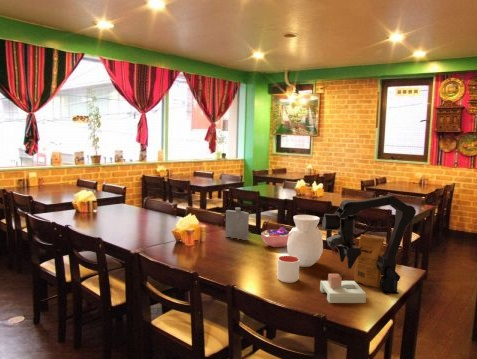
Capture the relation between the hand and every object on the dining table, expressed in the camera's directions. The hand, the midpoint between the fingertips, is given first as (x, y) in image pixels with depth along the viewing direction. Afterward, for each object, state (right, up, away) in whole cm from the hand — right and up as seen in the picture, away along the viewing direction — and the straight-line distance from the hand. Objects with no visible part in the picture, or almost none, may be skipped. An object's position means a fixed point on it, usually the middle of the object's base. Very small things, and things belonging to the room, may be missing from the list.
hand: (345, 265), depth 175 cm
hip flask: (-47, -1, +84) cm, 97 cm away
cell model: (-23, -3, +69) cm, 73 cm away
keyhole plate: (-3, -12, -4) cm, 13 cm away
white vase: (-12, -7, +37) cm, 40 cm away
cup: (-23, -10, +13) cm, 29 cm away
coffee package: (+14, -11, +13) cm, 21 cm away
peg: (-6, -12, -5) cm, 14 cm away
